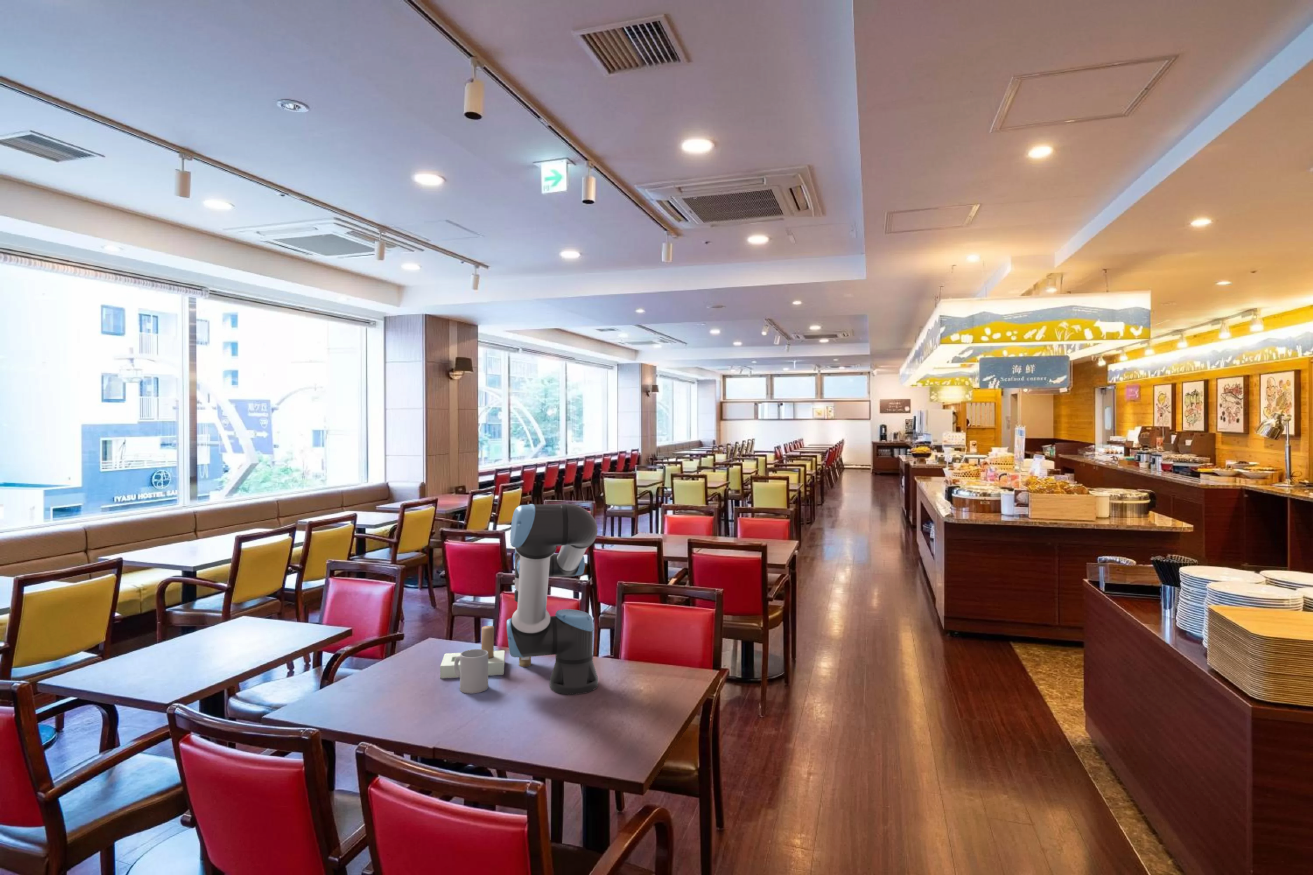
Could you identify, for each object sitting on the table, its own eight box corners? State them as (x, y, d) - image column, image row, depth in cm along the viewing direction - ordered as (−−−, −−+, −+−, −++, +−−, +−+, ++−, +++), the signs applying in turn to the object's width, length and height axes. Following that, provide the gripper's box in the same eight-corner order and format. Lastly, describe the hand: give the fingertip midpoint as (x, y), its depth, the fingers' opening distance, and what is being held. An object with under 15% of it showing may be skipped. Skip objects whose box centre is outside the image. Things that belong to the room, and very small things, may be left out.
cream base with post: (504, 661, 232) (504, 621, 232) (503, 674, 219) (503, 631, 219) (444, 665, 228) (445, 624, 228) (440, 678, 215) (440, 635, 215)
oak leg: (531, 662, 231) (531, 622, 231) (531, 666, 227) (531, 625, 227) (519, 663, 230) (519, 622, 231) (518, 667, 226) (519, 625, 227)
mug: (493, 686, 209) (494, 651, 209) (475, 695, 201) (475, 659, 201) (464, 680, 214) (464, 645, 214) (445, 688, 206) (445, 653, 206)
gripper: (514, 584, 237) (514, 650, 236) (514, 595, 220) (513, 666, 220) (536, 583, 238) (535, 649, 238) (537, 594, 221) (536, 664, 221)
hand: (525, 657), depth 229 cm, fingers closed on oak leg, 4 cm apart
